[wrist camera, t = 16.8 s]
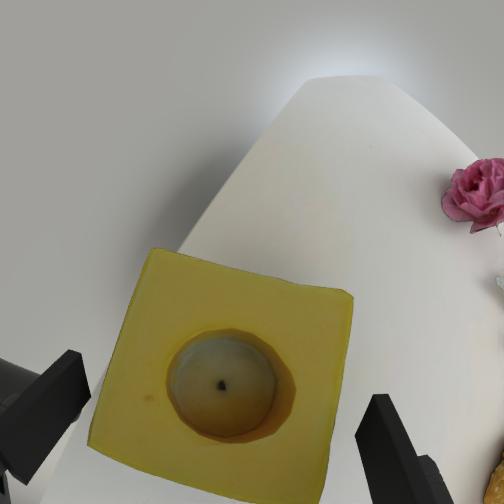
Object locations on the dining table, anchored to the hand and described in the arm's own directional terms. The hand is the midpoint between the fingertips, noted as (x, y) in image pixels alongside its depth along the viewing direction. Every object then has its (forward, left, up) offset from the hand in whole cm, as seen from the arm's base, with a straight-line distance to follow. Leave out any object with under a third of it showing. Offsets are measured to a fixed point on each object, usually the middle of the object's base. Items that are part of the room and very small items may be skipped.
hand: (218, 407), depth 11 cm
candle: (-1, +1, -9) cm, 9 cm away
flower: (+11, +32, -9) cm, 35 cm away
